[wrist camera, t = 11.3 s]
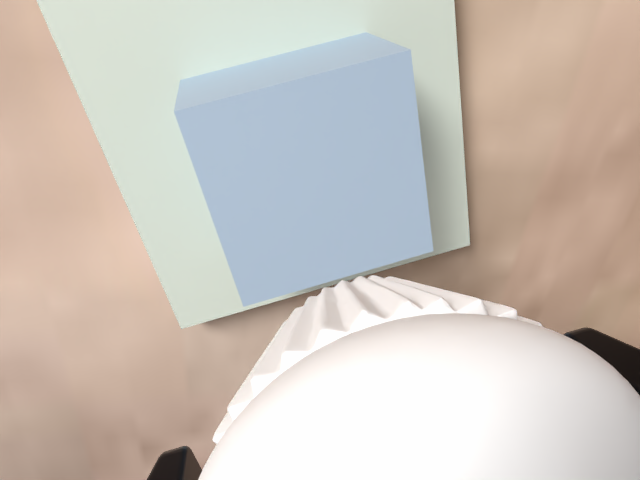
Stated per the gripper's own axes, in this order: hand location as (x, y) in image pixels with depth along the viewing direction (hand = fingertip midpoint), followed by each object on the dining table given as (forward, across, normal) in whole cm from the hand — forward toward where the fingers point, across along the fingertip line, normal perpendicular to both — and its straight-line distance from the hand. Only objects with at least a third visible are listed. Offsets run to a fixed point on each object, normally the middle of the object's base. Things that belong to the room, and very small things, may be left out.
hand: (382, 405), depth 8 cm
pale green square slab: (+12, 0, -1) cm, 13 cm away
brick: (+11, 0, -1) cm, 11 cm away
